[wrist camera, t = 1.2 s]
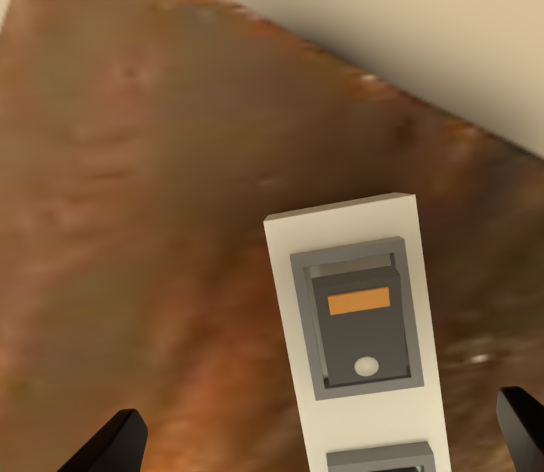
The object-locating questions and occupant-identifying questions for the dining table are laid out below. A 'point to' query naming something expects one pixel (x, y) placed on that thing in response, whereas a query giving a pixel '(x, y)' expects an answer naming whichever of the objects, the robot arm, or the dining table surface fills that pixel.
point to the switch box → (309, 348)
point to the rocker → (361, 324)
